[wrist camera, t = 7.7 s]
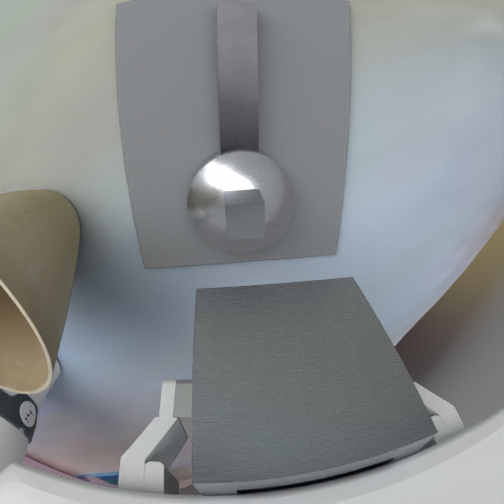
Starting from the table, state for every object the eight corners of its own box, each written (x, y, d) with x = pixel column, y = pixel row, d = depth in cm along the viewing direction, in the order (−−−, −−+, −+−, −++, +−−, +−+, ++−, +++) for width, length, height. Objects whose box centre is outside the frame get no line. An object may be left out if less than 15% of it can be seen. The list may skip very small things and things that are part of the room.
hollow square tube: (212, 382, 14) (219, 515, 8) (196, 288, 11) (192, 483, 5) (328, 369, 14) (368, 489, 8) (352, 276, 11) (438, 432, 5)
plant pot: (59, 122, 21) (-66, 176, 7) (140, 244, 28) (95, 375, 15) (-17, 205, 23) (-102, 284, 9) (53, 298, 30) (4, 403, 17)
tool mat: (145, 265, 30) (144, 268, 29) (118, 5, 16) (116, 4, 16) (333, 251, 32) (335, 254, 31) (346, 2, 18) (348, 0, 18)
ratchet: (286, 236, 29) (301, 268, 24) (194, 243, 28) (190, 277, 24) (289, 10, 18) (309, -9, 13) (179, 12, 17) (170, -9, 13)
